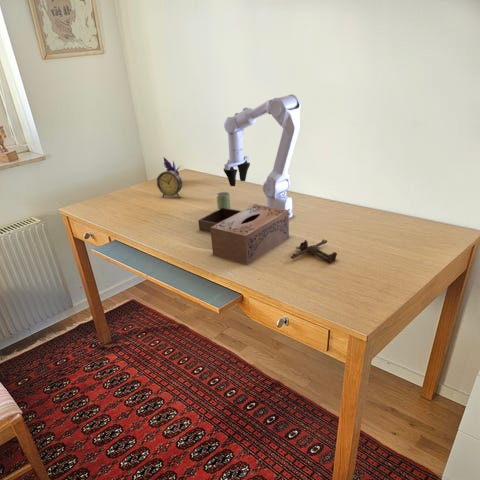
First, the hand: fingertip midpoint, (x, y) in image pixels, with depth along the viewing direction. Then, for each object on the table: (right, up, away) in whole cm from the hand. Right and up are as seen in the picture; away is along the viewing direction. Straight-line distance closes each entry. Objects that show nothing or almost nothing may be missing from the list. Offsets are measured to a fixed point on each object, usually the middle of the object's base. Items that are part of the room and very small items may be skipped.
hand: (237, 183), depth 183 cm
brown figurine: (+26, -36, -37) cm, 57 cm away
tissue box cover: (+5, -31, -28) cm, 42 cm away
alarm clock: (-31, +1, +23) cm, 39 cm away
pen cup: (-6, -12, +1) cm, 13 cm away
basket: (-4, -21, -12) cm, 25 cm away
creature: (-35, +13, +42) cm, 56 cm away
